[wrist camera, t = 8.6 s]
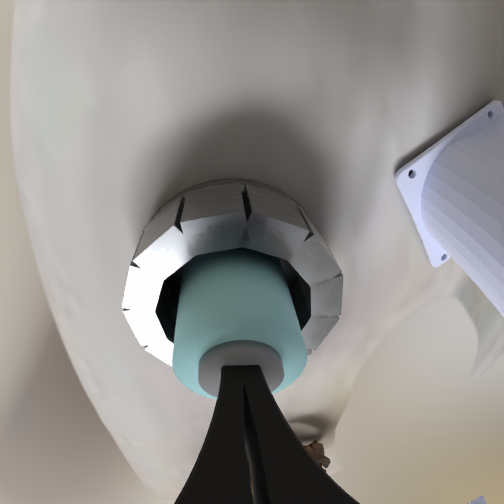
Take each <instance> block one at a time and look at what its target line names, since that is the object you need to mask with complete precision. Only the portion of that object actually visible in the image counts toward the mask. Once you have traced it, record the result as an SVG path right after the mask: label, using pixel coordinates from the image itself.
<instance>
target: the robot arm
mask: <svg viewBox="0 0 504 504" xmlns="http://www.w3.org/2000/svg"><path fill="white" fill-rule="evenodd" d="M488 112H489V116H488ZM410 170H412V174H411V175H410V176H408V173H409V171H410ZM395 182H396V184H397V186H398V188H399V190H400V192H401V195H402V197H403V199H404V201H405V203H406V205H407V207H408V210H409V212H410V214H411V216H412V219H413V221H414V223H415V226H416V228H417V230H418V233H419V235H420V238H421V240H422V242H423V245H424V247H425V250H426V253H427V255H428V258H429V260H430V263H431V264H432V265H433V267H439V266H440V265H442V264H443V263H444V262H445V261H447V260H448V259H449V258H451V257H452V259H453V260H454V261H455V262H456V263H457V264H458V265H459V266H460V267H461V268H462V269H463V270H464V271H465V272H466V274H467V275H468V276H469V277H470V278H471V279H472V280H473V281H474V282H475V284H476V285H477V286H478V287H479V288H480V289H481V290H482V292H483V293H484V294H485V295H486V296H487V297H488V299H489V300H490V301H491V302H492V303H493V305H494V306H495V307H496V308H497V309H498V311H499V312H500V313H501V314H502V316H503V317H504V107H503V104H502V102H501V101H499V100H493V101H491V102H490V103H489V104H487V105H486V106H485V107H483V108H482V109H481V110H479V111H478V112H477V113H475V114H474V115H473V116H471V117H470V118H469V119H467V120H466V121H465V122H463V123H462V124H461V125H459V126H458V127H457V128H455V129H454V130H453V131H451V132H450V133H448V134H447V135H446V136H444V137H443V138H442V139H440V140H439V141H438V142H436V143H435V144H433V145H432V146H431V147H429V148H428V149H427V150H425V151H424V152H423V153H421V154H420V155H418V156H417V157H416V158H414V159H413V160H411V161H410V162H409V163H407V164H406V165H405V166H403V167H402V168H400V169H399V170H398V171H397V172H396V174H395ZM245 446H246V449H245ZM246 452H247V456H246ZM247 457H248V462H249V467H250V474H251V483H252V490H251V484H250V477H249V471H248V464H247ZM252 494H253V496H252ZM174 504H360V503H358V502H357V501H356V500H355V499H353V498H352V497H351V496H350V495H349V494H347V493H346V492H345V491H344V490H343V489H342V488H341V487H340V486H338V484H337V483H335V481H334V480H333V479H332V478H331V477H330V476H329V475H328V474H327V473H326V472H325V471H324V470H323V469H322V468H321V467H320V466H319V465H318V463H317V462H316V461H315V460H314V459H313V458H312V456H311V455H310V454H309V453H308V451H307V450H306V449H305V447H304V446H303V445H302V443H301V442H300V441H299V439H298V438H297V436H296V435H295V433H294V432H293V430H292V429H291V427H290V426H289V424H288V422H287V421H286V419H285V418H284V416H283V414H282V412H281V410H280V409H279V407H278V405H277V403H276V401H275V399H274V397H273V395H272V393H271V391H270V389H269V387H268V384H267V382H266V380H265V377H264V375H263V372H262V369H261V366H259V365H224V366H223V367H221V380H220V387H219V392H218V398H217V402H216V406H215V409H214V413H213V417H212V420H211V423H210V426H209V429H208V432H207V435H206V438H205V441H204V444H203V446H202V449H201V451H200V454H199V456H198V458H197V461H196V463H195V465H194V467H193V469H192V471H191V473H190V476H189V478H188V480H187V482H186V483H185V485H184V487H183V489H182V491H181V492H180V494H179V496H178V498H177V499H176V501H175V503H174ZM468 504H486V502H485V499H484V496H480V497H478V498H477V499H475V500H473V501H471V502H470V503H468Z"/></svg>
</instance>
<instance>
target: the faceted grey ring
mask: <svg viewBox="0 0 504 504" xmlns="http://www.w3.org/2000/svg"><path fill="white" fill-rule="evenodd" d="M241 247H245V248H248V249H252V250H255V251H258V252H262V253H265V254H268V255H272V256H275V257H278V258H279V259H280V262H281V265H282V268H283V272H284V275H285V278H286V282H287V285H288V288H289V292H290V295H291V298H292V302H293V305H294V308H295V312H296V315H297V319H298V322H299V325H300V329H301V332H302V336H303V339H304V343H305V346H306V350H307V356H308V355H309V354H311V353H312V351H311V349H312V350H316V349H317V348H318V346H319V345H320V344H321V343H322V341H323V340H324V339H325V337H326V336H327V335H328V333H329V332H330V331H331V329H332V328H333V327H334V325H335V324H336V323H337V321H338V320H339V317H338V315H341V306H342V290H343V275H342V273H341V272H342V271H341V269H340V267H339V265H338V264H337V262H336V260H335V258H334V256H333V255H332V253H331V251H330V249H329V247H328V246H327V244H326V242H325V240H324V239H323V237H322V236H321V234H320V233H319V232H318V230H317V229H316V228H315V226H314V225H313V223H312V221H311V220H310V218H309V217H308V215H307V214H306V212H305V211H304V210H303V209H302V208H301V207H300V205H299V204H298V203H296V202H295V201H294V200H293V199H292V198H291V197H289V196H288V195H286V194H285V193H283V192H281V191H280V190H278V189H276V188H273V187H271V186H269V185H266V184H263V183H259V182H256V181H251V180H244V179H221V180H213V181H209V182H205V183H201V184H198V185H196V186H193V187H190V188H188V189H186V190H184V191H183V192H181V193H179V194H177V195H176V196H174V197H173V198H172V199H170V200H169V201H168V202H166V203H165V204H164V206H163V207H162V208H161V209H160V210H159V211H158V212H157V213H156V215H155V216H154V217H153V219H152V220H151V222H150V223H149V224H148V225H147V226H146V228H145V231H143V234H142V236H141V239H140V241H139V244H138V246H137V249H136V251H135V254H134V256H133V259H132V262H131V264H130V268H129V273H128V278H127V283H126V289H125V294H124V300H123V306H122V307H124V310H123V312H124V314H125V316H126V318H127V320H128V322H129V324H130V326H131V328H132V330H133V332H134V333H135V335H136V337H137V339H138V341H139V343H140V344H141V346H145V348H144V349H145V350H147V351H148V352H150V353H151V354H153V355H154V356H156V357H157V358H159V359H160V360H162V361H163V362H165V363H166V364H168V365H170V366H171V367H173V366H172V356H173V346H174V337H175V328H176V319H177V311H178V303H179V295H180V287H181V280H182V273H183V266H184V264H185V263H186V262H188V261H189V260H190V259H192V258H193V257H194V256H196V255H200V254H206V253H212V252H218V251H224V250H229V249H235V248H241Z"/></svg>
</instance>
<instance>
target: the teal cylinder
mask: <svg viewBox="0 0 504 504" xmlns="http://www.w3.org/2000/svg"><path fill="white" fill-rule="evenodd" d="M306 362H307V350H306V346H305V343H304V339H303V336H302V332H301V329H300V325H299V322H298V319H297V315H296V312H295V308H294V305H293V302H292V298H291V295H290V292H289V288H288V285H287V282H286V278H285V275H284V272H283V268H282V265H281V262H280V259H279V258H278V257H275V256H272V255H268V254H265V253H262V252H258V251H255V250H252V249H248V248H245V247H241V248H235V249H229V250H224V251H218V252H212V253H206V254H200V255H196V256H194V257H193V258H192V259H190V260H189V261H188V262H186V263H185V264H184V266H183V273H182V280H181V287H180V295H179V303H178V311H177V319H176V328H175V337H174V346H173V356H172V366H173V371H174V373H175V375H176V377H177V378H178V380H179V381H180V382H181V383H182V384H183V385H184V386H186V387H187V388H188V389H190V390H192V391H193V392H195V393H197V394H200V395H202V396H205V397H208V398H212V399H217V398H218V392H219V387H220V380H221V367H223V366H224V365H259V366H261V369H262V372H263V375H264V377H265V380H266V382H267V384H268V387H269V389H270V391H271V393H272V394H274V393H276V392H278V391H280V390H282V389H284V388H286V387H287V386H289V385H290V384H291V383H292V382H294V381H295V380H296V379H297V378H298V377H299V376H300V374H301V373H302V371H303V370H304V368H305V365H306Z"/></svg>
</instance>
